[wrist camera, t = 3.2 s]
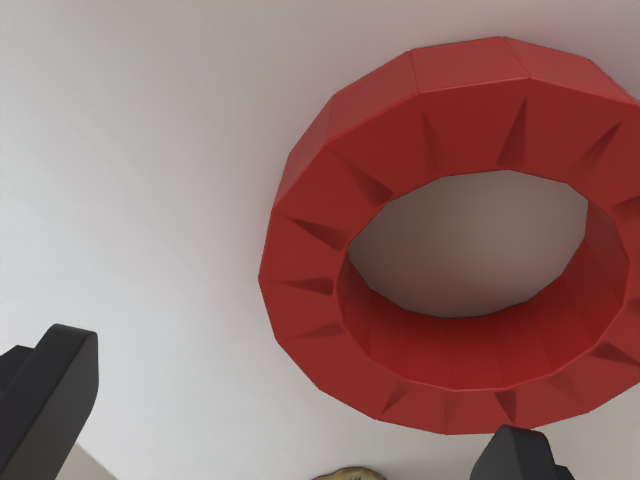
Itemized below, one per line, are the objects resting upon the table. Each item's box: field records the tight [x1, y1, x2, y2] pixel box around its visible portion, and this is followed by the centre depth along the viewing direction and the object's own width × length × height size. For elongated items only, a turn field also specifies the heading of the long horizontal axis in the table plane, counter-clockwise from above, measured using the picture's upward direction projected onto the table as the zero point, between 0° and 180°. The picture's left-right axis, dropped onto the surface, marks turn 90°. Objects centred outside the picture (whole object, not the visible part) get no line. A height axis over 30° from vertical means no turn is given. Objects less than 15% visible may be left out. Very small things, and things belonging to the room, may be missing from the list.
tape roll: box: [258, 36, 640, 435], centre depth 17 cm, size 12×12×3 cm
